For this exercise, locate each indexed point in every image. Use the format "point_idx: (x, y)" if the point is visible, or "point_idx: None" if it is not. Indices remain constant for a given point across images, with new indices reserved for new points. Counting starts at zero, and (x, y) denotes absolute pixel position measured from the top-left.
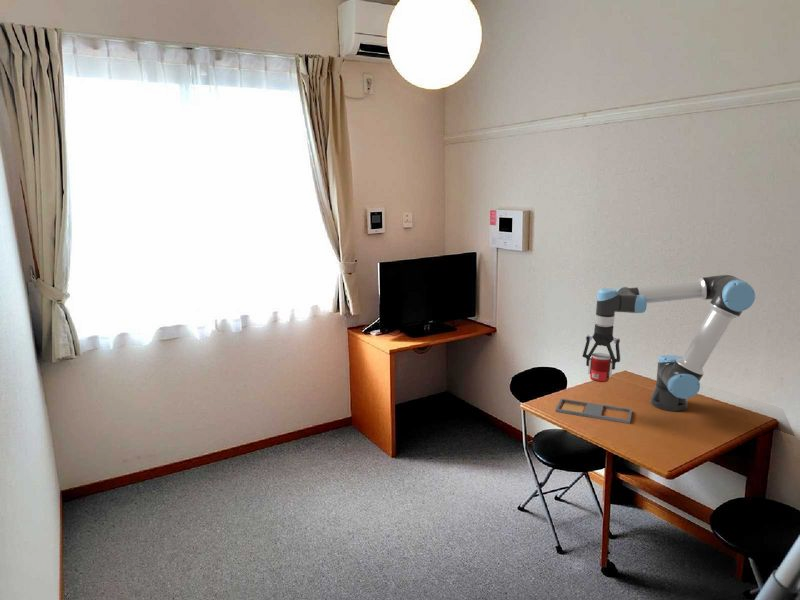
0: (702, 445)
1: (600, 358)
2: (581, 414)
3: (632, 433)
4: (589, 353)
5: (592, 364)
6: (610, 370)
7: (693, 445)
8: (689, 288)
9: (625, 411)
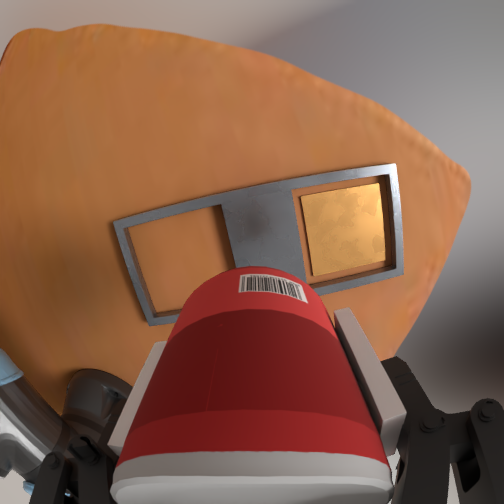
0: None
1: (208, 475)
2: (296, 177)
3: (89, 148)
4: (444, 488)
5: (342, 371)
6: (144, 382)
7: None
8: None
9: (168, 311)
